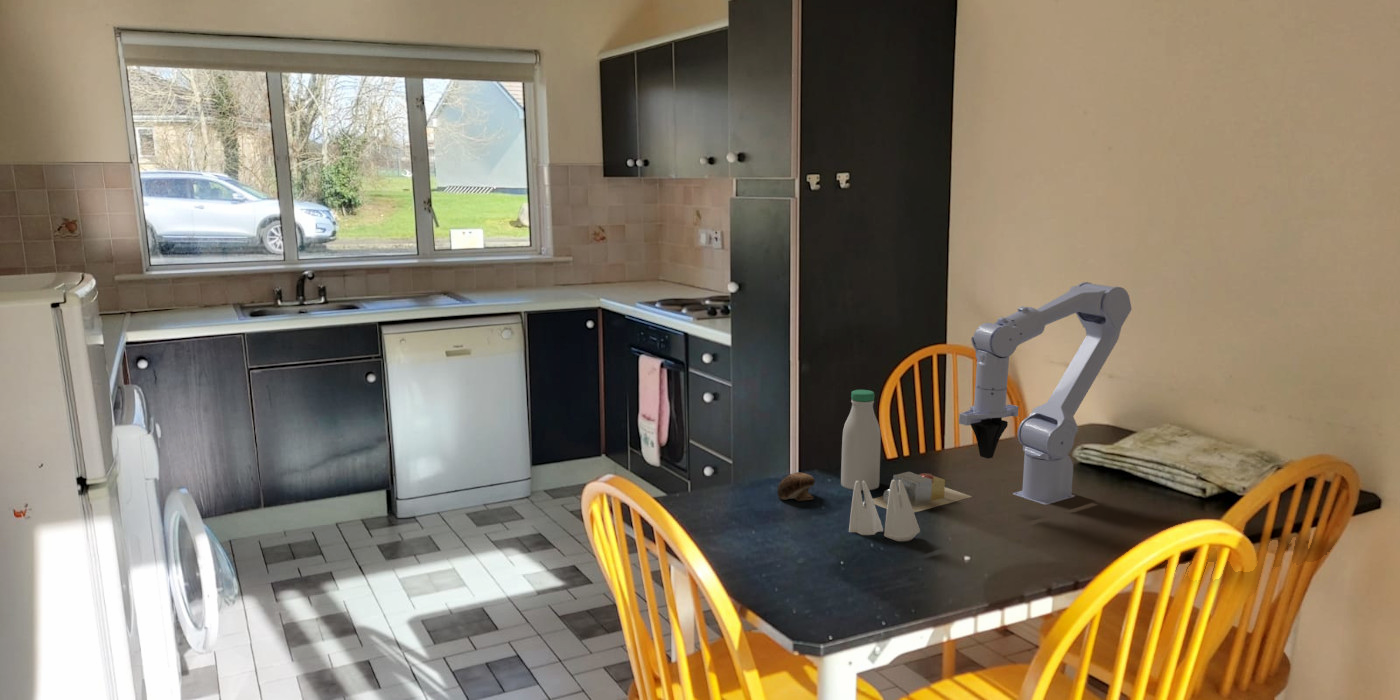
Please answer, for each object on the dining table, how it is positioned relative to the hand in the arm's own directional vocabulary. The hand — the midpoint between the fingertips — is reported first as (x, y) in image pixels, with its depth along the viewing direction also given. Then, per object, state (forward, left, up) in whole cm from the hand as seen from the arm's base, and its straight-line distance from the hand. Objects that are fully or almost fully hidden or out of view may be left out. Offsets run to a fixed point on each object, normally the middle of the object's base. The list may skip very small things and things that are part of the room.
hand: (986, 456), depth 187 cm
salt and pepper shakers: (+28, +1, -10) cm, 29 cm away
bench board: (+8, -9, -10) cm, 16 cm away
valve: (+7, -9, -9) cm, 15 cm away
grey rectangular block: (+12, -9, -9) cm, 18 cm away
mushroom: (+28, -23, -10) cm, 37 cm away
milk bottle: (+12, -22, -10) cm, 27 cm away
